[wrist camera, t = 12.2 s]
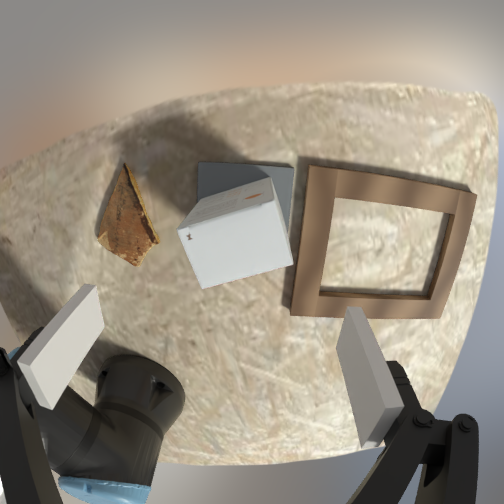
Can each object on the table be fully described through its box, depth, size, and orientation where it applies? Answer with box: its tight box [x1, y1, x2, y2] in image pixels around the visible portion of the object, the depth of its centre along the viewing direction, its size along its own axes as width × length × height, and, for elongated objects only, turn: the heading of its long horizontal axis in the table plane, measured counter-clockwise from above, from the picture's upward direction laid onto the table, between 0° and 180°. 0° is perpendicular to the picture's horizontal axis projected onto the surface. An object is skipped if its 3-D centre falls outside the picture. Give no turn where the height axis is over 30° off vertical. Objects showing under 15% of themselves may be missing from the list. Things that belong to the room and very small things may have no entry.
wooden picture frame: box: [290, 165, 477, 319], centre depth 34 cm, size 22×18×1 cm
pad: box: [197, 162, 294, 234], centre depth 34 cm, size 10×10×1 cm
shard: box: [98, 163, 160, 267], centre depth 34 cm, size 11×8×2 cm
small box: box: [177, 177, 293, 289], centre depth 28 cm, size 8×6×10 cm
